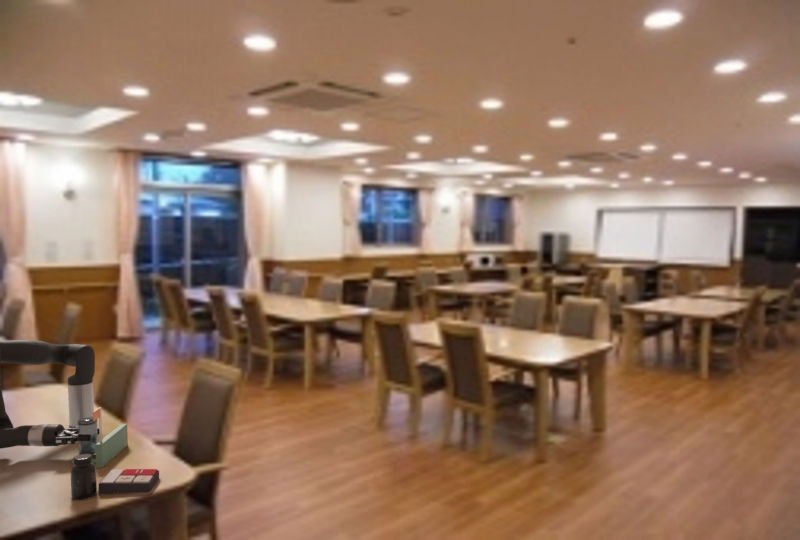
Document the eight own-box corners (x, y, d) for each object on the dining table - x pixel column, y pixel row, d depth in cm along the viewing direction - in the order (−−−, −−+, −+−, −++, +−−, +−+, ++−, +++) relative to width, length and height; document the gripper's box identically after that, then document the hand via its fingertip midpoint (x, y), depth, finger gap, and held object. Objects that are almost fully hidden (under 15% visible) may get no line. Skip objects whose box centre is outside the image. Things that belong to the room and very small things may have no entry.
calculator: (149, 481, 186) (98, 481, 184) (149, 495, 186) (97, 495, 184) (159, 467, 197) (111, 467, 195) (159, 480, 197) (110, 480, 195)
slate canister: (83, 449, 219) (82, 417, 218) (101, 449, 219) (100, 416, 218) (75, 456, 213) (74, 422, 212) (93, 455, 213) (92, 422, 212)
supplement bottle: (90, 488, 189) (89, 450, 188) (100, 494, 184) (99, 455, 184) (67, 496, 183) (66, 457, 183) (77, 502, 179) (75, 462, 178)
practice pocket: (94, 445, 227) (93, 392, 226) (127, 444, 228) (126, 392, 226) (61, 471, 202) (59, 412, 201) (98, 471, 203) (96, 411, 201)
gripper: (34, 431, 207) (85, 430, 208) (56, 418, 222) (103, 418, 223) (35, 453, 208) (85, 452, 209) (57, 438, 222) (104, 438, 223)
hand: (94, 434), depth 216 cm, fingers closed on slate canister, 6 cm apart
